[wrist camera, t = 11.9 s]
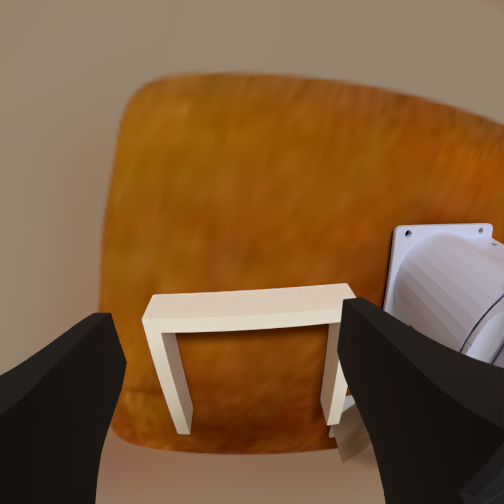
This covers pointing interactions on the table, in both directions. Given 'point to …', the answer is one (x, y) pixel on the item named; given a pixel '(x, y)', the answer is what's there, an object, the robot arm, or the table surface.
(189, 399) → the cream u-shaped arch
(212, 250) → the table surface
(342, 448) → the block
